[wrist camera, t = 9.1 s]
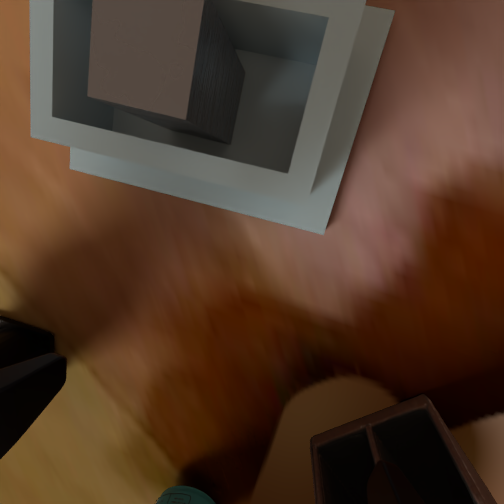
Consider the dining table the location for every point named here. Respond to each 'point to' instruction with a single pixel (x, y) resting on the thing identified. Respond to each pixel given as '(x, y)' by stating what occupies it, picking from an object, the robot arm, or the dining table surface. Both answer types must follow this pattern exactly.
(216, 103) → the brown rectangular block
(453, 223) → the dining table surface
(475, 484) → the letter holder
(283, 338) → the dining table surface
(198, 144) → the grey open box
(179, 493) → the beverage bottle
